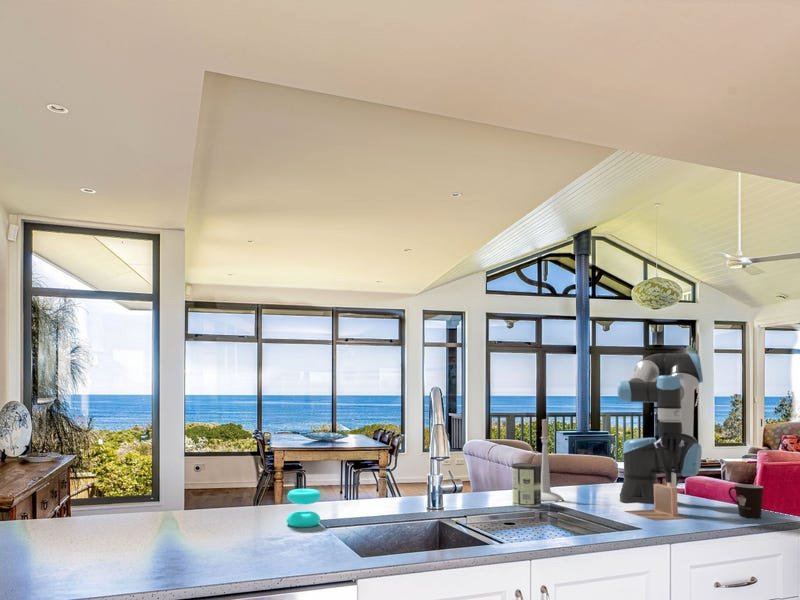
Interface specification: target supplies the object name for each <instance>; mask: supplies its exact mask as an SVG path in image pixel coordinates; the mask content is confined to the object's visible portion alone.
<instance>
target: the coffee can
mask: <svg viewBox="0 0 800 600" xmlns="http://www.w3.org/2000/svg"><path fill="white" fill-rule="evenodd" d="M511 470H512V472H511V476H512V477H511V479H512V480H511V481H512V482H511V484H512V485H511V488H512V489H511V490H512V492H511V493H512V504H511V505H513V506H515V505H516V506H515V507H519V508H520V507H521V508H539V507H541V506H542V502H541V470H542V464H538V463H532V462H530V463H529V462H518V463H512V464H511Z"/></svg>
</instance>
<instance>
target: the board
mask: <svg viewBox="0 0 800 600" xmlns="http://www.w3.org/2000/svg"><path fill="white" fill-rule="evenodd" d="M623 512H625V513H628V514H631V515H635V516H639V517H641V518H645V519H649V520H652V521H656V522H657V521H670V520H688V519H689V520H691V519H692V518H691V517H688V516H684V515H680V514H678V516H670V515H667V514H663V513H659V512H656V511H654V509H640V510H623Z"/></svg>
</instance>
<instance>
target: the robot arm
mask: <svg viewBox="0 0 800 600" xmlns="http://www.w3.org/2000/svg"><path fill="white" fill-rule="evenodd" d="M633 371H634V372H633V374H632V376H631V377H630V379H629V380H620V381H619V382H618V383H617V396H618V399H619V401H620V402H625V403H626V402H627V403H656V404H657V420H658V422H657V431H658V433H659V435H658V440H657V439H656V437H642V438H641V437H640V438H632V439H627V440H625V441H624V442H623V452H622V454H623V482H622V484H621V485H622V487H621V490H620V492H619V501H620V502H621V503H626V504H654V484H659V482H658V475H664V476H665V482H666V485H667V486H672V487H676V488H677V483H678V481H679V480H678V476H679V477H680V476H682V477H695V476H697V475H698V474H699V472H700V469H701V463H702V445H701V443H700V444H699V443H698V441H697V439H696V437H694V418H695V417H694V416H695V415H694V414H695V413H694V411H695V391H696V389H698V387H699V385H700V383H703V382H704V379H703V372H702V364H701V358H700V355H699V354H697V353H692V352H686V353H667V352H666V353H655V354H654V353H653V354H651V355H648V356H645V357H644V358H642V359H641V360H639V361H638V362H636V365H635V366H634V370H633Z"/></svg>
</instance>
